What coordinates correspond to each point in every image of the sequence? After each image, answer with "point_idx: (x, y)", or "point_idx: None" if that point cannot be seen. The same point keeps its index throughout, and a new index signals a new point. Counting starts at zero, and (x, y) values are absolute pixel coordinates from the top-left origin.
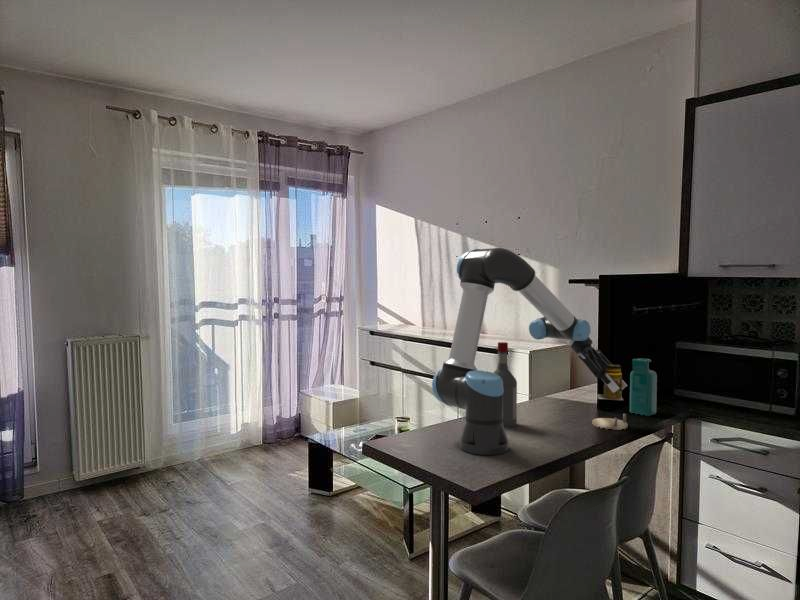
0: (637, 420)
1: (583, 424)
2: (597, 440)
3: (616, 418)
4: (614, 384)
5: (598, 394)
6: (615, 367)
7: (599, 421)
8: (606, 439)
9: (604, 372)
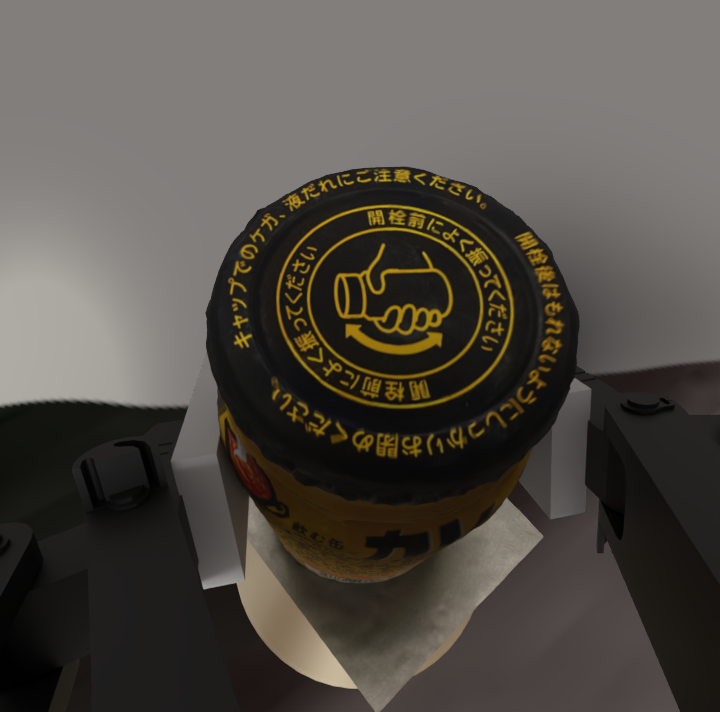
0: (57, 515)
1: (507, 690)
2: (694, 386)
3: None
4: None
5: (370, 687)
6: (488, 205)
7: None
8: (633, 370)
9: (634, 399)
